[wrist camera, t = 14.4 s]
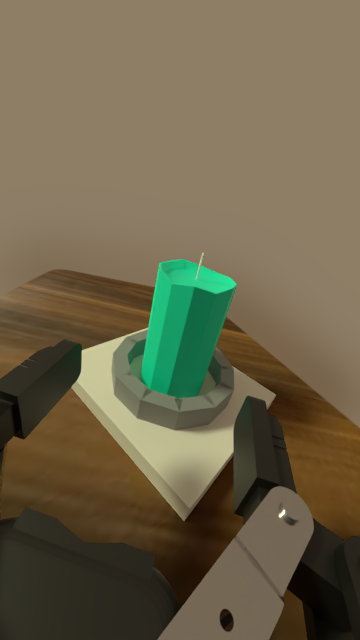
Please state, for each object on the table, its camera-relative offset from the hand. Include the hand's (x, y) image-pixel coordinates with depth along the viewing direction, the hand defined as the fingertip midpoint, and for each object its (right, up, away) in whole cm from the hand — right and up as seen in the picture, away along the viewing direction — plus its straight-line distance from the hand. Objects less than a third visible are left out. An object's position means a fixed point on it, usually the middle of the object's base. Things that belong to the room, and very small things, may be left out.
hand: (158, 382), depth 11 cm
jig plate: (0, -4, +12) cm, 13 cm away
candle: (0, -3, +11) cm, 12 cm away
